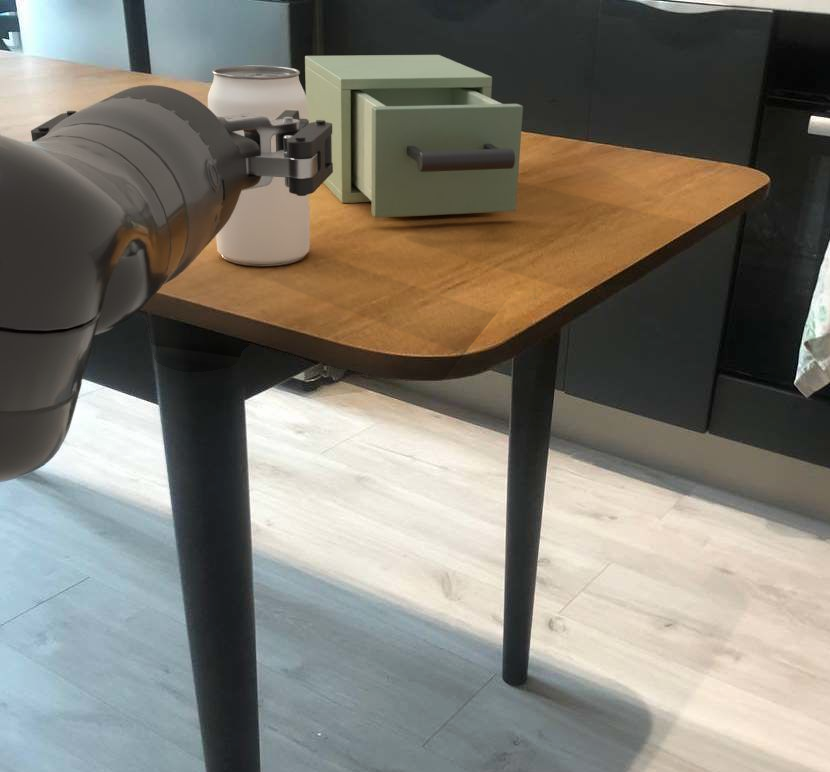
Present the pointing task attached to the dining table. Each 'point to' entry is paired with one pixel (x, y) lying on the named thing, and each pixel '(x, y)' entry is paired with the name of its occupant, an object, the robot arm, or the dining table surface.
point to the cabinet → (343, 73)
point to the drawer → (434, 151)
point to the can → (273, 204)
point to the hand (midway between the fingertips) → (219, 126)
